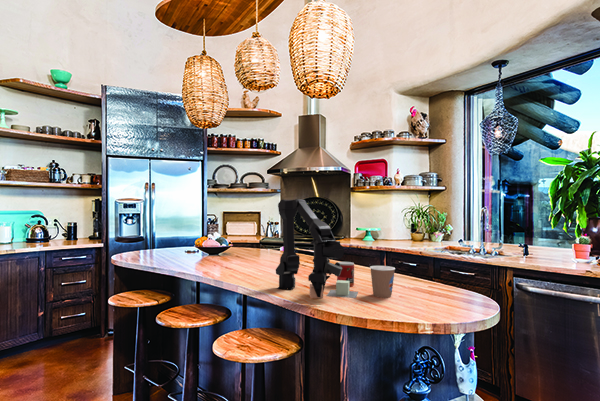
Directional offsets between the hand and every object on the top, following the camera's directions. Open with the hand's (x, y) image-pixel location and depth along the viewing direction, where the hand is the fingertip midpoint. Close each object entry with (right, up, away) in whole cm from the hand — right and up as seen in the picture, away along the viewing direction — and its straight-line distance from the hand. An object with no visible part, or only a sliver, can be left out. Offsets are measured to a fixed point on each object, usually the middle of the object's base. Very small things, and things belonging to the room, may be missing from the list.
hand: (320, 295), depth 147 cm
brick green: (+10, -1, +6) cm, 11 cm away
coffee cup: (+26, -2, +4) cm, 26 cm away
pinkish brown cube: (-2, -1, 0) cm, 2 cm away
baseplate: (+10, -1, +6) cm, 11 cm away
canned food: (+13, -2, +24) cm, 27 cm away
